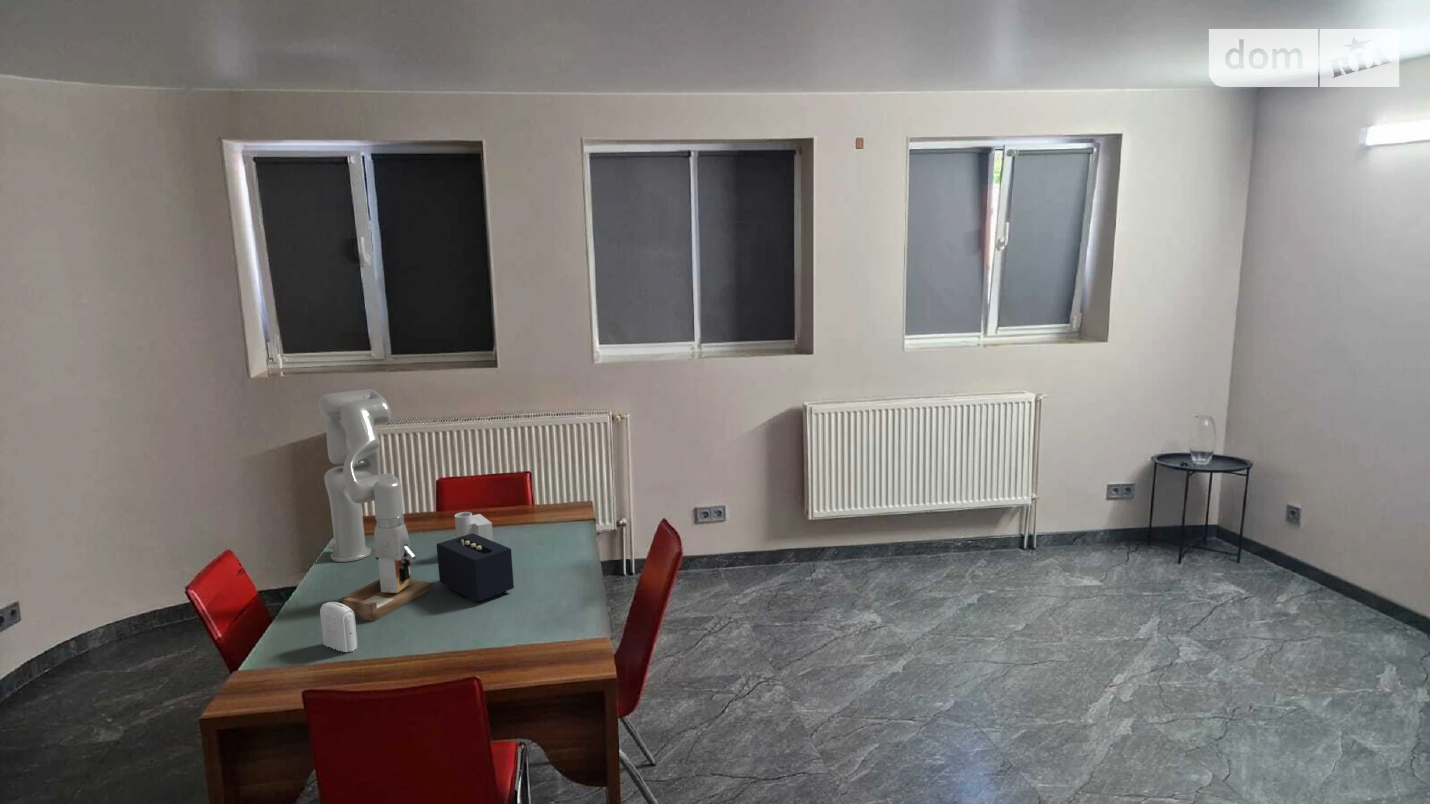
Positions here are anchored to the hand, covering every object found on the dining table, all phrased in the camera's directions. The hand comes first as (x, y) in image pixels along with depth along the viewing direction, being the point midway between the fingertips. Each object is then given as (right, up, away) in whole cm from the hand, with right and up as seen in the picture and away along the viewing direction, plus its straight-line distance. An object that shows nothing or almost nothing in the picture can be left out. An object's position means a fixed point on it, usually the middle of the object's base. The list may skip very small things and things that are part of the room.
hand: (395, 577), depth 248 cm
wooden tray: (-1, -7, -2) cm, 7 cm away
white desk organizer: (+12, 0, +33) cm, 35 cm away
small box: (0, -3, +1) cm, 3 cm away
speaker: (+23, -5, +5) cm, 24 cm away
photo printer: (-3, -12, -30) cm, 33 cm away
